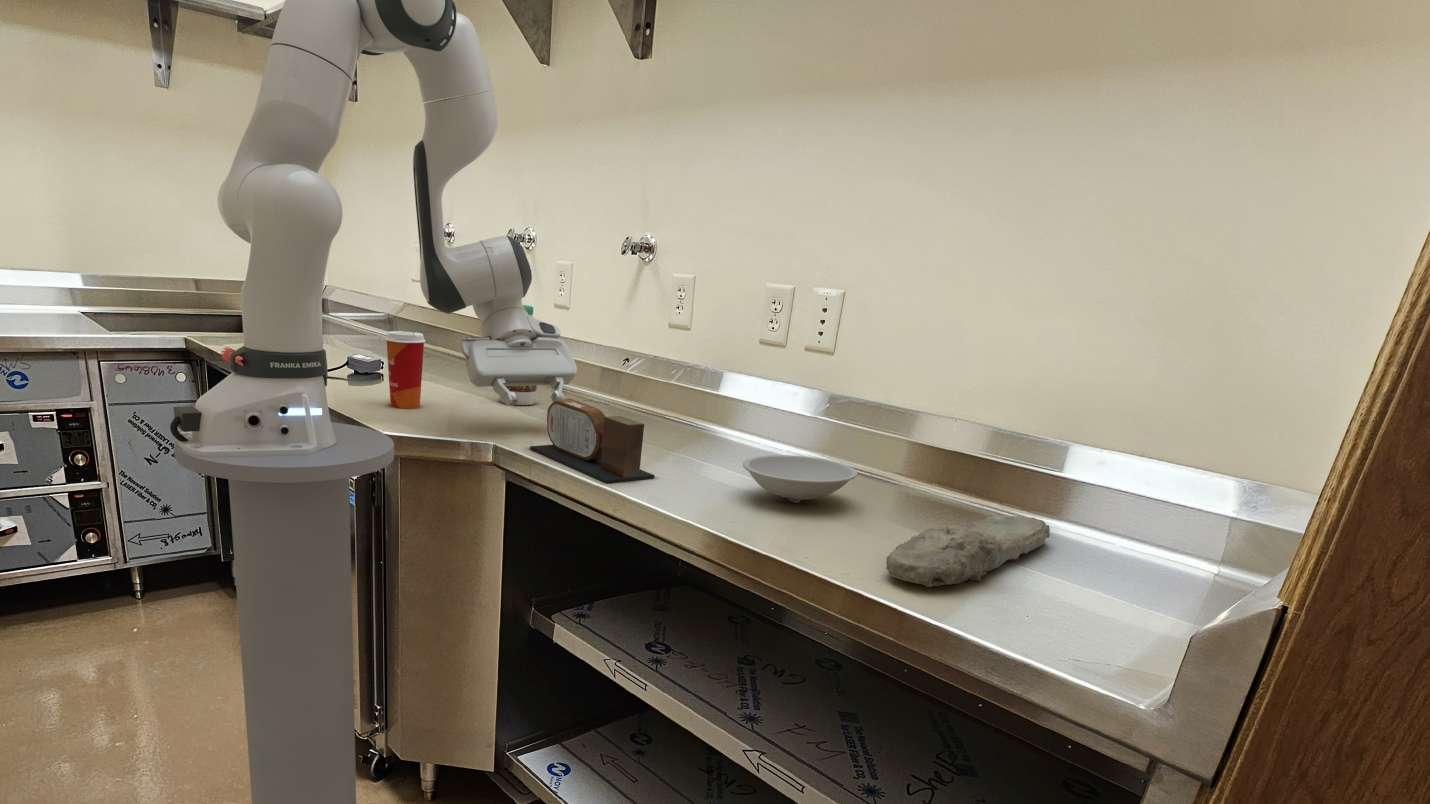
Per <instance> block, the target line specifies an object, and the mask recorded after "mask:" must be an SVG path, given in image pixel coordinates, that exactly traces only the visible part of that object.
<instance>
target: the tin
mask: <svg viewBox="0 0 1430 804" xmlns="http://www.w3.org/2000/svg"><path fill="white" fill-rule="evenodd" d="M604 417H607V416H606V414H605V413H604V412H603V410H601V409H600V408H599V407H596V406H593V405H591V404H588V403H585V402H582V401H579V400H576V399H574V398H569V397H568V398H564V400H558V401H555V402H553V401H552V403H551V404H550V405H549V407H548V408H547V413H546V430H547V431H546V432H547V436H548V438H549V440H550V442H551V445H554V446H555V447H556V448H557V449H559V450H561V451H564V452H566V453H568V454H571V455H573V456H575V457H578V458H580V459H582V460H585V461H590V460H600V459H601V452H602V440H603V428H604Z"/></svg>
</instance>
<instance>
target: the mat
mask: <svg viewBox="0 0 1430 804" xmlns="http://www.w3.org/2000/svg"><path fill="white" fill-rule="evenodd" d="M529 450H530V451H533V452H536V453H538V454H540V455H542V456H544V457H547V458H549V459H551V460H553V461H556V462H557V463H560V464H563V465H565V466H567V467H569V468H572V469H573V470H576V471H579V472H580V473H582V474H584V475H587V476H590V477H592V478H594V479H596V480H598V481H600V482H602V483H605V484H613V483H621V482H623V483H624V482H630V481H641V480H642V481H643V480H650V479H655V474H653V473H651V472H648V471H645V470H643V469H641V468H640V472H639V477H631V478H622V477H619V476H617V475H615V474H612V473H610V472H607V471H605V470H603V469H600V464H601V459H600V460H590V461H585V460H582V459H580V458H578V457H575V456H573V455H571V454H568V453H566V452H564V451H561V450H559V449H557V448H556V447H555V446H554V445H553V444H543V445H540V444H539V445H530V446H529Z"/></svg>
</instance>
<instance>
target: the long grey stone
mask: <svg viewBox="0 0 1430 804" xmlns="http://www.w3.org/2000/svg"><path fill="white" fill-rule="evenodd" d="M1050 532H1051V528H1050V525H1049V524H1046V522H1045V521H1044V520H1043V519H1038V518H1036V517H1027V516H1022V515H1002V514H1001V515H1000V514H999V515H998V514H996V515H993V516H989V517H987V518H984V519H979V520H975V521H970V522H967V523H964V524H962V525H947V526H946V528H944V527H943V528H941V527H939V528H927V529H925V530H923V531H922V532H920V533H919V534H917V535H914V536H911V537H910V539H908V540H907V541H904V542H903V543H900V544H898V545H896V547H895V548H894V549H893V550H892V552H891V553H889V555H888V556H886V562H885V563H886V570H887V571H888V574H889V576H891V577H893V578H896V579H899V580H901V581H904V582H909V583H913V584H920V585H923V586H925V587H927V588H932V587H936V586H945V585H946V586H947V585H954V584H955V585H959V584H961V583H964V582H967V581H971V582H972V581H974V582H975V581H977V582H980V581H982V578H981V577H983V576H987V572H989V571H992V570H994V569H996V568H999V567H1001V565H1004V563H1005V562H1006V561H1008V560H1017V559H1019V557H1020V555H1022V554H1028V553H1029V552H1031V551H1034V550H1037V548H1040V547H1041V546H1043V545H1044V544H1045V542H1046V539H1048V538H1050V536H1051V533H1050Z"/></svg>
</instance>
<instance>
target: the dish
mask: <svg viewBox="0 0 1430 804" xmlns="http://www.w3.org/2000/svg"><path fill="white" fill-rule="evenodd" d="M742 467H743V468H744V469H745V470H746V471H748V473H749V474H750V476H751V477H752V478H753V480H754V481H755V482H756V483H757V485H758V486H760V487H761V489H763V490H764V491H767V492H768V493H770V494H773V495H775V496H779V497H782V498H786V499H788V502H789V501H790V502H792V503H800V502H801V501H802V500H814V499H819V498H824V497H827V496H829V495H832V494H833V493H835V492H837V491H839V490H840V489H842V488H843V487H844V486H845V485H847V483H848V482H849V481H852V480H854V479H855V478H857V476H858V472H857V470H856V469H855V468H854V467H851V466H850V465H847V464H845V463H841V462H838V461H834V460H830V459H824V458H820V457H813V456H806V455H805V456H803V455H791V454H772V455H771V454H770V455H769V454H767V455H759V456H754V457H749V458H747V459H745V460H744V461H743V462H742Z"/></svg>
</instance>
